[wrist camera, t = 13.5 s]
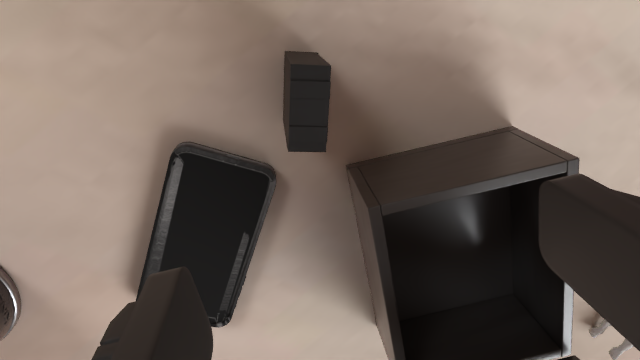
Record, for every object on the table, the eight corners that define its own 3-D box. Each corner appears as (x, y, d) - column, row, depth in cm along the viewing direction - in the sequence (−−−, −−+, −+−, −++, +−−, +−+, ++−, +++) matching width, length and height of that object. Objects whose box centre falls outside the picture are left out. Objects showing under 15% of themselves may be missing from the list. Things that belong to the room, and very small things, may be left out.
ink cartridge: (313, 121, 31) (328, 155, 24) (282, 120, 31) (287, 154, 24) (317, 52, 30) (334, 66, 22) (284, 50, 29) (290, 64, 22)
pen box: (345, 165, 33) (367, 208, 26) (512, 125, 33) (580, 157, 26) (377, 327, 39) (401, 397, 32) (516, 292, 40) (571, 354, 33)
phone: (133, 311, 34) (173, 142, 29) (137, 302, 35) (176, 137, 31) (228, 329, 36) (281, 173, 31) (230, 320, 37) (281, 167, 32)
